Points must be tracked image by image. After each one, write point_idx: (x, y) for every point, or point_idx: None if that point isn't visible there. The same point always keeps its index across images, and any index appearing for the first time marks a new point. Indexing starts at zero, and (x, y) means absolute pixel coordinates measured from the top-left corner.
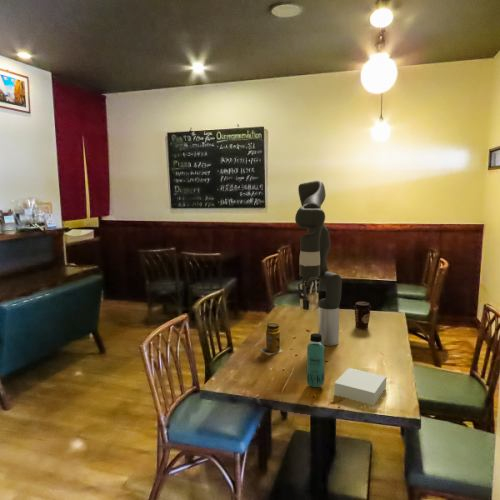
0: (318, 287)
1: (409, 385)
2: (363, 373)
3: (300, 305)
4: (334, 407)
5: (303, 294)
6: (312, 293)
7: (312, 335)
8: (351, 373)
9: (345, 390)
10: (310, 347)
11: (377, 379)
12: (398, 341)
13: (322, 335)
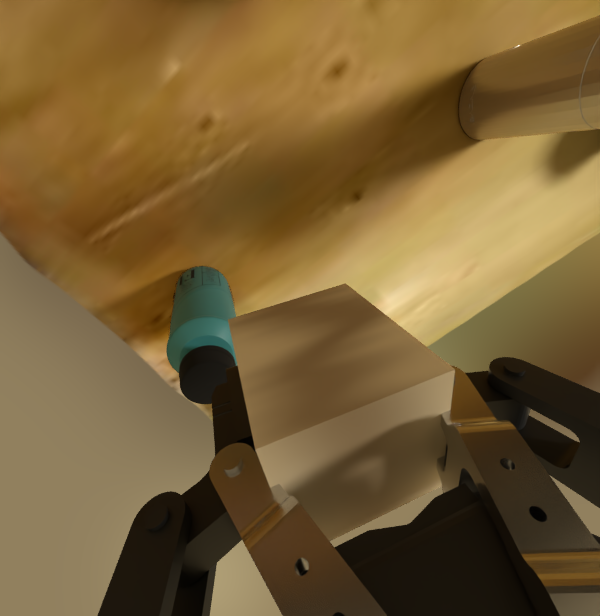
0: (559, 475)
1: None
2: None
3: (234, 346)
4: (164, 376)
5: (243, 526)
6: (396, 478)
7: (187, 382)
8: None
9: None
10: (170, 355)
11: None
12: (546, 255)
13: (489, 88)
